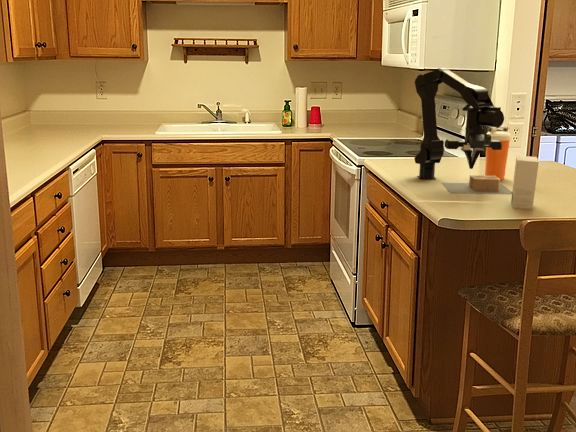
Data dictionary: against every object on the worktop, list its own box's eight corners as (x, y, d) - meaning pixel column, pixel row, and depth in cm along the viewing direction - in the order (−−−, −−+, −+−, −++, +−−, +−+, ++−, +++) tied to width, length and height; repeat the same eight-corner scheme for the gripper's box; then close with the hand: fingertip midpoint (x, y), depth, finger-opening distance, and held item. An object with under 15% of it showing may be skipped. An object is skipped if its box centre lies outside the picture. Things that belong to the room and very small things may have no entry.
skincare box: (510, 202, 211) (515, 155, 207) (532, 204, 209) (537, 156, 205) (511, 208, 203) (516, 159, 199) (534, 210, 201) (539, 160, 197)
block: (469, 175, 232) (495, 175, 232) (469, 186, 233) (494, 186, 233) (474, 179, 225) (500, 179, 225) (473, 190, 226) (499, 190, 226)
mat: (441, 183, 239) (441, 182, 239) (501, 184, 238) (501, 183, 238) (450, 194, 222) (450, 193, 222) (515, 195, 221) (515, 194, 220)
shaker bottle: (510, 181, 244) (515, 128, 239) (488, 182, 243) (493, 129, 238) (499, 177, 253) (504, 125, 248) (478, 177, 251) (482, 126, 246)
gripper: (451, 127, 217) (448, 172, 221) (508, 127, 216) (503, 173, 220) (445, 123, 228) (442, 166, 232) (499, 123, 227) (495, 167, 231)
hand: (471, 168), depth 228 cm, fingers closed
